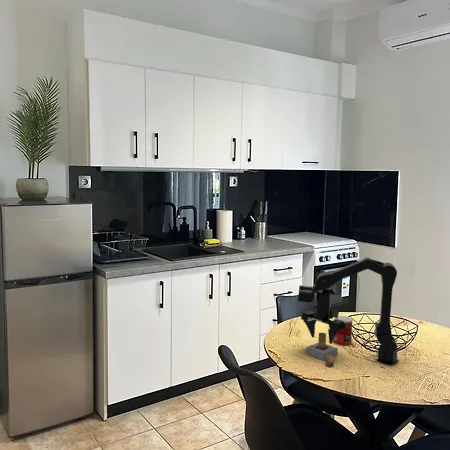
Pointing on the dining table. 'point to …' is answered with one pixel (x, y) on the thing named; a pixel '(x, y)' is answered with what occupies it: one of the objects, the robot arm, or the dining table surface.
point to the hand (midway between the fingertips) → (321, 340)
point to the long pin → (322, 341)
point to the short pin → (329, 360)
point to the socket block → (321, 351)
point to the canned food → (344, 332)
